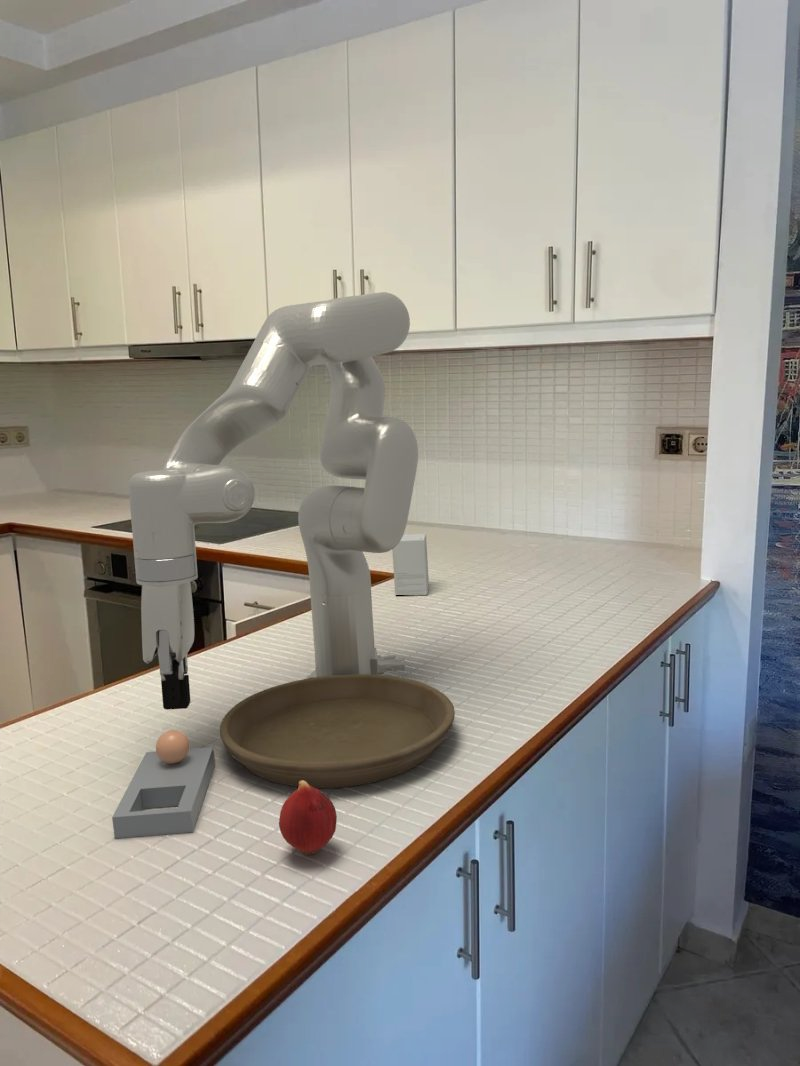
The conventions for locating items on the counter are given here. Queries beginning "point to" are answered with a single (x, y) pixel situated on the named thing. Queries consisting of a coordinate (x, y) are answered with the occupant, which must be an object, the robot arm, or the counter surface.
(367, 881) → the counter surface
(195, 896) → the counter surface
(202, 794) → the block
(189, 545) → the robot arm
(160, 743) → the ball
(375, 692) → the plant saucer
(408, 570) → the supplement box
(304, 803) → the onion
